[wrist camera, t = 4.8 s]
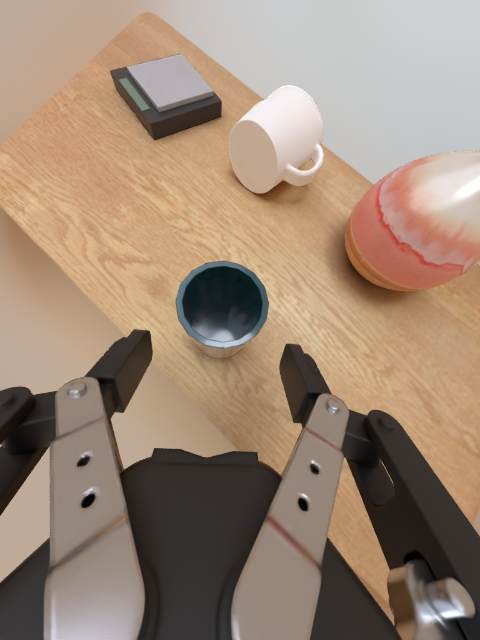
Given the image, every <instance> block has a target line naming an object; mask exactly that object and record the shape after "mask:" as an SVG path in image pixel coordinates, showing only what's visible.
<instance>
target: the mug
mask: <svg viewBox="0 0 480 640" xmlns="http://www.w3.org/2000/svg"><path fill="white" fill-rule="evenodd" d="M322 139H323V128H322V119H321V115H320V112H319V110H318V107H317V105H316V104H315V102H314V100H313V99H312V98H311V97H310V96H309V95H308V94H307V93H306V92H305V91H304V90H302V89H300V88H298V87H296V86H291V85H286V86H282V87H279V88H277V89H276V90H275V91H274V92H273V93H272V94H271V95H270V96H269V97H268V98H267V99H265V100H264V101H260V102H258V103H257V104H256V105H255V106H254V107H253V108H252V109H251V110H250V111H249V112H248V113H247V114H246V115H245V116H244V117H243V118H241V119H240V120H239V121H238V122H237V123H236V124H235V125H234V127H233V128H232V130H231V133H230V136H229V142H228V151H229V158H230V162H231V165H232V168H233V170H234V172H235V174H236V176H237V178H238V179H239V181H240V182H241V183H242V184H243V185H244V186H245V187H246V188H247V189H249V190H250V191H252V192H254V193H266V192H268V191H269V190H270V189H272V188H273V187H275V186H276V185H277V184H279V183H280V182H281V181H283V180H284V181H286V182H288V183H290V184H292V185H295V186H303V185H306V184H308V183H310V182H311V181H312V180H313V179H314V178H315V176H316V175H317V173H318V171H319V169H320V167H321V165H322V163H323V159H324V153H323V150H322V148H321V147H320V146H321V143H322ZM310 160H312V162H313V163H314V167H313V168H312V169H310V170H307V171H301V170H298V169H299V168H300V167H301V166H303V165H304V164H305V163H307V162H308V161H310Z"/></svg>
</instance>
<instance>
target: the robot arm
mask: <svg viewBox="0 0 480 640" xmlns="http://www.w3.org/2000/svg"><path fill="white" fill-rule="evenodd" d="M152 354H153V351H152V343H151V334H150V331H148V330H137V329H134V330H133V331H132V332H131V334H130V335H129V336H128V337H127V338H126V337H123V338H121V339H119V340H118V341H116V342H115V343H114V344H113V345H112V346H111V347H110V348H109V350H108V351H107V352H106V353H105V354H104V356H102V357H101V358H100V360H99V361H98V362H97V363H96V364H95V365H94V366H93V368H92V369H91V370H90V371H89V372H88V373H87V374H86V375H85V377H81V378H77V379H74V380H72V381H70V382H68V383H66V384H64V385H63V386H62V387H61V388H60V389H59V390H58V391H54V392H48V393H42V394H36V395H33V394H32V393H31V391H30V390H29V389H28V388H26V387H12V388H8V389H5V390H2V391H0V444H1V445H2V446H1V447H0V515H1V514H2V513H3V511H4V510H5V508H6V507H7V505H8V504H9V502H10V501H11V500H12V498H13V497H14V496H15V494H16V493H17V491H18V490H19V489H20V487H21V486H22V484H23V483H24V481H25V480H26V479H27V477H28V476H29V474H30V473H31V471H32V470H33V469H34V467H35V466H36V464H37V463H38V462H39V460H40V459H41V457H42V456H43V454H44V453H45V452H46V450H47V449H48V447H49V446H50V538H48V539H47V540H46V541H45V542H44V543H43V544H42V545H41V546H40V547H39V548H38V549H36V550H35V551H34V552H33V553H32V554H31V555H30V556H29V557H28V558H27V559H26V560H24V561H23V562H22V563H21V564H20V565H19V566H18V567H17V568H16V569H15V570H14V571H12V572H11V573H10V574H9V575H8V576H7V577H6V578H5V579H4V580H3V581H2V582H1V583H0V640H480V536H479V535H478V533H477V532H476V531H475V529H474V528H473V526H472V525H471V524H470V522H469V521H468V519H467V518H466V517H465V515H464V514H463V512H462V511H461V509H460V508H459V507H458V505H457V504H456V502H455V501H454V500H453V498H452V497H451V495H450V494H449V492H448V491H447V490H446V488H445V487H444V485H443V484H442V483H441V481H440V480H439V478H438V477H437V476H436V474H435V473H434V471H433V470H432V468H431V467H430V466H429V464H428V463H427V461H426V460H425V459H424V457H423V456H422V454H421V453H420V451H419V450H418V449H417V447H416V446H415V444H414V443H413V442H412V440H411V439H410V437H409V436H408V435H407V433H406V432H405V430H404V429H403V427H402V426H401V425H400V423H399V422H398V421H397V420H396V419H394V418H393V417H392V416H390V415H389V414H387V413H385V412H383V411H380V410H372V411H370V412H369V413H368V415H367V416H366V415H364V414H361V413H358V412H355V411H352V410H349V409H348V407H347V406H346V404H345V403H344V402H343V401H342V400H341V399H339V398H338V397H336V396H334V395H332V394H331V392H330V390H329V388H328V386H327V384H326V382H325V380H324V378H323V376H322V374H320V371H319V369H318V368H317V365H316V363H315V361H314V360H313V359H312V358H311V357H310V356H309V355H308V354H305V353H304V352H303V350H302V348H301V346H300V345H297V344H286V345H285V348H284V352H283V355H282V358H281V361H280V367H279V370H280V375H281V379H282V382H283V386H284V390H285V393H286V397H287V400H288V404H289V408H290V411H291V415H292V419H293V422H294V423H301V424H302V427H303V429H302V431H301V433H300V435H299V437H298V439H297V442H296V444H295V446H294V448H293V450H292V453H291V455H290V457H289V459H288V461H287V464H286V466H285V468H284V470H283V472H282V474H281V475H280V474H279V473H278V472H276V471H275V470H274V469H273V468H271V467H270V466H268V465H267V464H265V463H263V462H260V461H258V454H257V452H239V451H232V452H228V453H224V454H221V455H216V456H212V457H207V458H205V457H202V456H199V455H196V454H193V453H190V452H187V451H184V450H181V449H164V448H154V451H153V454H152V457H149V458H146V459H143V460H140V461H139V462H136V463H134V464H133V465H131V466H129V467H128V468H126V469H125V470H124V468H123V465H122V461H121V458H120V455H119V450H118V447H117V443H116V439H115V435H114V431H113V427H112V423H111V417H112V416H113V414H114V412H120V413H123V412H124V411H125V409H126V407H127V405H128V403H129V402H130V399H131V398H132V396H133V394H134V392H135V390H136V389H137V387H138V385H139V383H140V381H141V379H142V377H143V375H144V373H145V372H146V370H147V368H148V366H149V364H150V362H151V360H152ZM344 457H345V458H346V459H347V462H348V465H349V467H350V470H351V472H352V475H353V477H354V480H355V482H356V485H357V487H358V490H359V492H360V495H361V498H362V500H363V503H364V505H365V508H366V510H367V513H368V515H369V518H370V520H371V523H372V525H373V528H374V531H375V533H376V536H377V538H378V541H379V543H380V546H381V548H382V551H383V553H384V556H385V558H386V561H387V564H388V566H389V569H390V572H389V574H388V578H387V588H388V594H389V605H390V608H391V611H392V613H393V615H394V622H395V626H394V625H393V624H392V622H391V621H390V619H389V618H388V617H387V615H386V614H385V613H384V611H383V610H382V609H381V607H380V606H379V605H378V603H377V602H376V601H375V600H374V598H373V597H372V595H371V594H370V593H369V591H368V590H367V589H366V587H365V586H364V585H363V583H362V582H361V581H360V579H359V578H358V577H357V575H356V574H355V573H354V571H353V570H352V569H351V567H350V566H349V565H348V563H347V562H346V561H345V559H344V558H343V557H342V555H341V554H340V553H339V551H338V550H337V549H336V547H335V546H334V545H333V544H332V542H331V541H330V540H329V538H328V537H327V534H328V530H329V525H330V520H331V516H332V511H333V506H334V502H335V497H336V492H337V487H338V483H339V478H340V473H341V469H342V464H343V459H344ZM382 462H383V464H384V466H385V468H386V470H387V472H388V473H389V475H390V477H391V479H392V481H393V483H392V481H391V479H390V477H389V476H388V474H387V472H386V470H385V468H384V466H383V464H382ZM393 484H394V485H393Z"/></svg>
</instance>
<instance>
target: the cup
mask: <svg viewBox="0 0 480 640" xmlns="http://www.w3.org/2000/svg"><path fill="white" fill-rule="evenodd" d="M268 306H269V301H268V298H267V294H266V290H265V287H264V285H263V284H262V283H261V281H260V280H259V279H258V277H257V276H256V275H255V274H254V273H253V272H252V271H250V270H249V269H247V268H245V267H244V266H242V265H240V264H237V263H232V262H228V261H217V262H210V263H205V264H204V265H202V266H200V267H198V268H196V269H194V270H192V271H191V272H190V273H189V275H188V276H187V277H186V278H185V279H184V281H183V282H182V283H181V285H180V287H179V291H178V295H177V298H176V307H177V314H178V319H179V321H180V323H181V324H182V326H183V327H184V329H185V330H186V332H187V333H188V335H189V336H190V337H191V338H192V340H193V341H194V342H195V343H196V345H197V346H198V347H199V348H200V350H201V351H202V352H204V353H205V354H206V355H208V356H210V357H212V358H217V359H224V358H228V357H231V356H233V355H234V354H236V353H237V352H239V351H240V350H241V349H242V348H243V347H244V346H245V345H246V344H247V343H249V342H250V341H251V340H252V339H253V338H254V337H255V336H256V335H257V334H258V333H259V331H260V329H261V328H262V326H263V325H264V323H265V321H266V319H267V313H268Z"/></svg>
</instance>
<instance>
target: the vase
mask: <svg viewBox="0 0 480 640" xmlns="http://www.w3.org/2000/svg"><path fill="white" fill-rule="evenodd" d="M345 245H346V251H347V255H348V257H349V259H350V261H351V263H352V265H353V266H354V268H355V269H356V270H357V271H358V272H359V273H360V274H361V275H362V276H363V277H364V278H366V279H367V280H368V281H370V282H372V283H374V284H375V285H378V286H381V287H383V288H387V289H391V290H397V291H418V290H425V289H429V288H433V287H436V286H439V285H442V284H445V283H447V282H449V281H451V280H453V279H455V278H457V277H459V276H461V275H463V274H464V273H466V272H468V271H469V270H471V269H472V268H474V267H475V266H476V265H477V264H478V263H480V150H477V151H476V150H475V151H454V152H447V153H440V154H435V155H430V156H427V157H423V158H420V159H417V160H414V161H412V162H409V163H407V164H405V165H403V166H401V167H399V168H397V169H395V170H394V171H392V172H391V173H389V174H387V175H386V176H385V177H383V178H382V179H381V180H379V181H378V182H377V183H376V184H375V185H374V186H372V187H371V188H370V189H369V190H368V191H367V192H366V193H365V194H364V195H363V197H362V198H361V199H360V201H359V202H358V203H357V205H356V206H355V207H354V209H353V211H352V213H351V215H350V217H349V220H348V223H347V227H346V231H345Z"/></svg>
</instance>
